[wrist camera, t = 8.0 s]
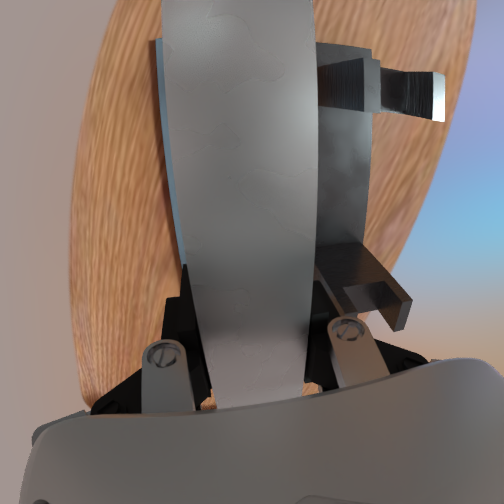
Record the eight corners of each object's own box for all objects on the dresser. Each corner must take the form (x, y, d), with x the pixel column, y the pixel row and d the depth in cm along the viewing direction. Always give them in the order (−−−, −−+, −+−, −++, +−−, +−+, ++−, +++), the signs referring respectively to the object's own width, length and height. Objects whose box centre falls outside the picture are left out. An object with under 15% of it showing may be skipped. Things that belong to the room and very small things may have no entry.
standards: (296, 43, 21) (355, 14, 11) (364, 50, 21) (446, 38, 12) (297, 289, 32) (331, 366, 23) (351, 281, 33) (398, 349, 23)
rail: (172, -14, 6) (161, -50, 4) (280, -18, 6) (307, -52, 4) (233, 448, 16) (238, 482, 14) (281, 441, 16) (289, 475, 14)
